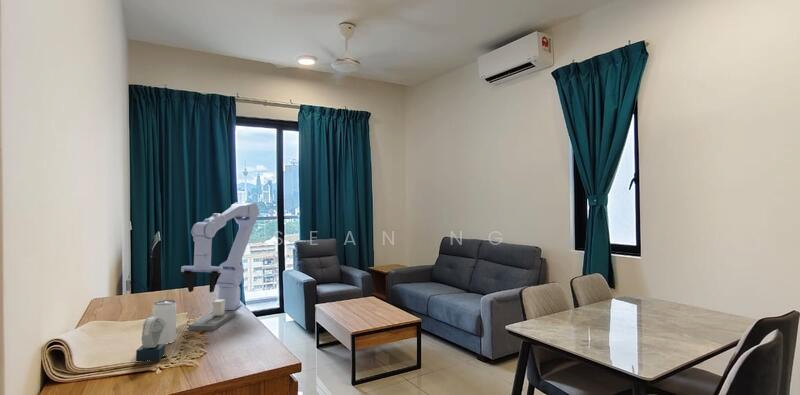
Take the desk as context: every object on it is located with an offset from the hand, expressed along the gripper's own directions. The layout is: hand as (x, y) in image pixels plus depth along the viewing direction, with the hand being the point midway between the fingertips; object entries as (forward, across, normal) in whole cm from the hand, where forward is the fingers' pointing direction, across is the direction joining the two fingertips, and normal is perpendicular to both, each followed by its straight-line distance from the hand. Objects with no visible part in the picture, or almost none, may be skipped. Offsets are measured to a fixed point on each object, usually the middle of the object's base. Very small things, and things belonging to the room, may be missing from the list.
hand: (201, 291), depth 151 cm
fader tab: (+8, +8, -2) cm, 11 cm away
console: (+9, +8, -6) cm, 14 cm away
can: (+10, +2, -28) cm, 29 cm away
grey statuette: (+10, +6, -40) cm, 42 cm away
